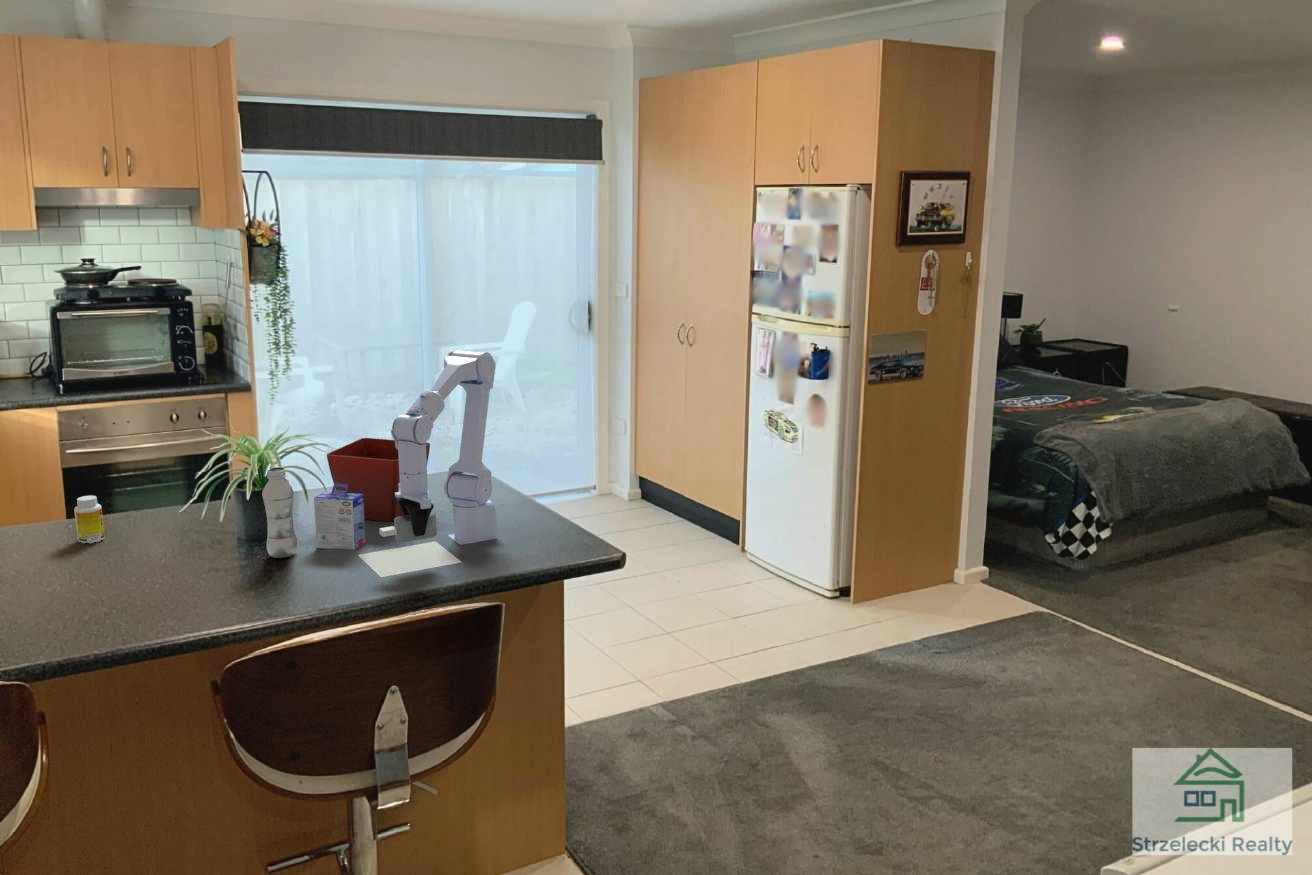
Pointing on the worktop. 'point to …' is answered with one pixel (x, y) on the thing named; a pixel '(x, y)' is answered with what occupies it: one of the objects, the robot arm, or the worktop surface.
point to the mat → (408, 559)
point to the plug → (409, 529)
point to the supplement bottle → (89, 520)
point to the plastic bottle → (279, 514)
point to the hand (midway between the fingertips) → (415, 532)
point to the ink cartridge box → (339, 519)
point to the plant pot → (370, 475)
